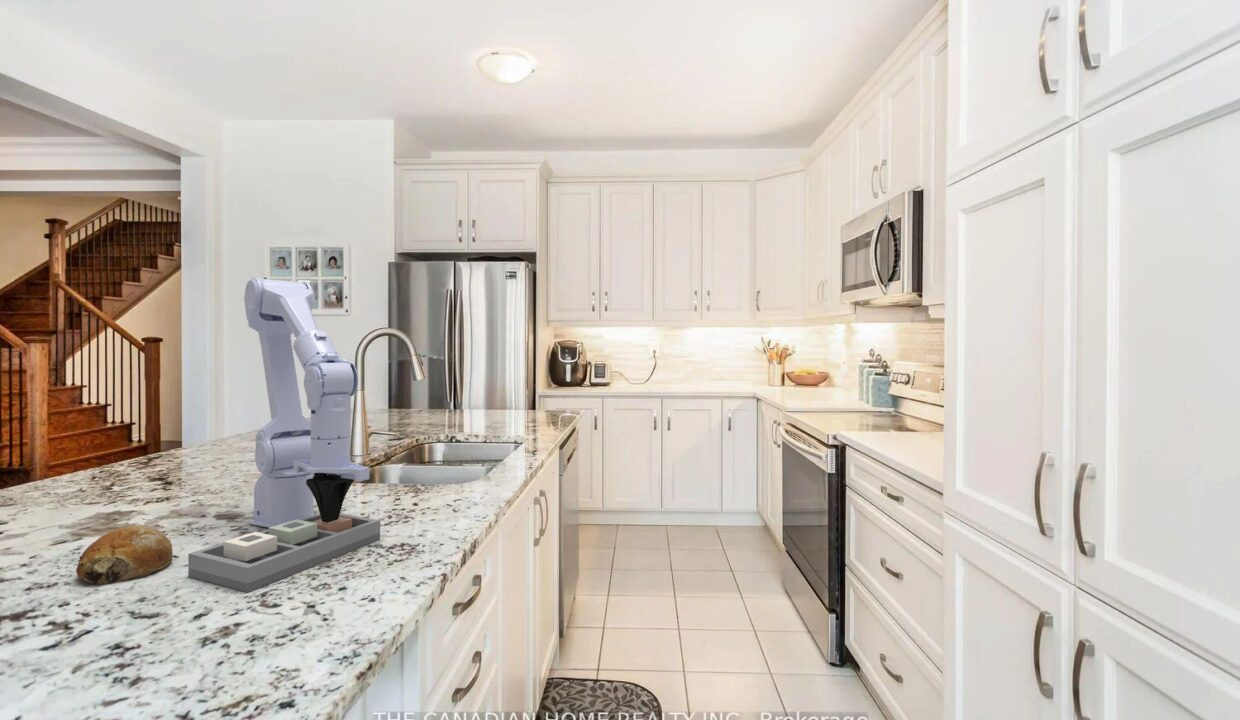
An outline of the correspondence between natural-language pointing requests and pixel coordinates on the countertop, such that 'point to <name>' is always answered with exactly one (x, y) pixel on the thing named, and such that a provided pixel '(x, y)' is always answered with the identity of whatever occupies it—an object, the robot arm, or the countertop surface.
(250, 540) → the key offwhite
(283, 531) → the key sage
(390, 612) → the countertop surface
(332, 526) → the key terracotta
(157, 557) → the bread roll
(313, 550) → the grey compartment tray
